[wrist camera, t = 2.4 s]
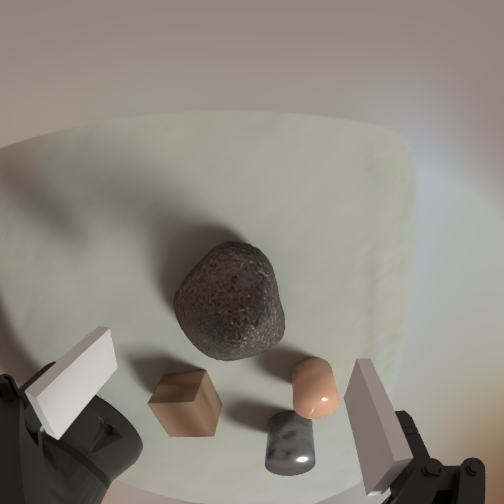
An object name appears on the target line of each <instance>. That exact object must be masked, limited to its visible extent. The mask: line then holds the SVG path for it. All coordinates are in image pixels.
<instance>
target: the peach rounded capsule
mask: <svg viewBox="0 0 504 504" xmlns="http://www.w3.org/2000/svg"><path fill="white" fill-rule="evenodd" d="M292 387H293V406H294V410H295V412H296V413H297V414H298V415H300V416H302V417H304V418H309V419H316V418H321V417H325V416H327V415H329V414H330V413H332V412H333V411H334V410H335V409H336V408H337V406H338V404H339V395H338V391H337V387H336V383H335V380H334V376H333V372H332V368H331V366H330V364H329V363H328V362H327V361H325V360H323V359H320V358H309V359H305V360H303V361H301V362H300V363H298V364H297V365H296V366H295V367H294V369H293V371H292Z"/></svg>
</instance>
